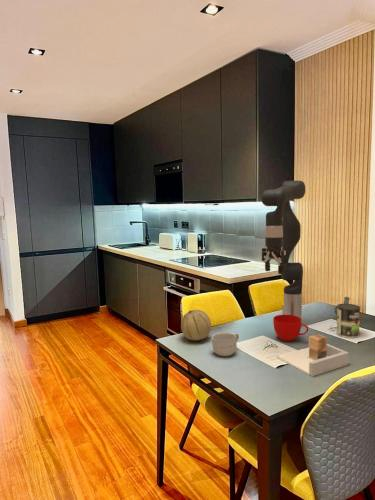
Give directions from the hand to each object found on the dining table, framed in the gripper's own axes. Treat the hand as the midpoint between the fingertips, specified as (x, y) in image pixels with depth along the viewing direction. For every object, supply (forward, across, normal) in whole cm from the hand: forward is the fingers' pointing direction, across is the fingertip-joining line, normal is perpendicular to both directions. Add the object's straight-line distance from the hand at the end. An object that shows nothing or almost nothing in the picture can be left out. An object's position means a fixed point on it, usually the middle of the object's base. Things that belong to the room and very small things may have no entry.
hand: (274, 272), depth 160 cm
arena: (+34, -20, -3) cm, 40 cm away
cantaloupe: (+34, +26, +26) cm, 50 cm away
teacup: (+34, +5, +22) cm, 41 cm away
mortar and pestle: (+34, +9, -57) cm, 67 cm away
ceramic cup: (+34, +2, -12) cm, 36 cm away
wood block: (+33, -20, -6) cm, 39 cm away
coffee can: (+34, -7, -40) cm, 53 cm away
